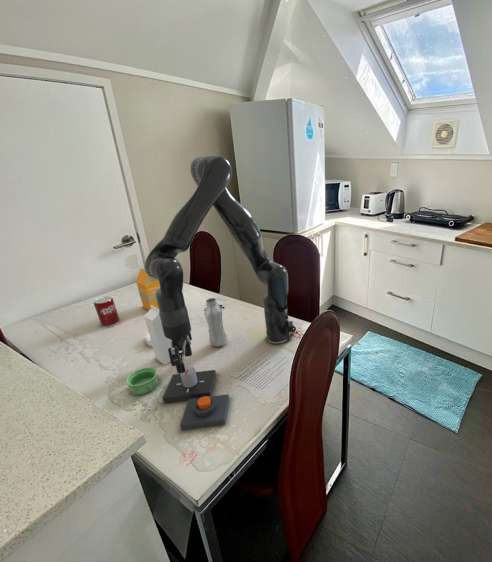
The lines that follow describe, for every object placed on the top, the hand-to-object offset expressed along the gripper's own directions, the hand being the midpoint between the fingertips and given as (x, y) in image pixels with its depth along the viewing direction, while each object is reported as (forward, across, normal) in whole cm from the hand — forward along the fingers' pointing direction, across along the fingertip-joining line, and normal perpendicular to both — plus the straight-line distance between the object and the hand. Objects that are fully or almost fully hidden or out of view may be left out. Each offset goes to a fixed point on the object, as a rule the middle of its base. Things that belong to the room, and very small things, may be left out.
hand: (185, 363), depth 99 cm
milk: (+11, +19, +13) cm, 25 cm away
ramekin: (+11, +4, +16) cm, 19 cm away
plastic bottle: (+10, +25, -5) cm, 28 cm away
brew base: (+10, 0, 0) cm, 10 cm away
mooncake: (+11, +33, +19) cm, 39 cm away
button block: (+10, -12, -7) cm, 17 cm away
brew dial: (+8, 0, 0) cm, 8 cm away
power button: (+7, -12, -7) cm, 15 cm away
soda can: (+11, +51, +47) cm, 70 cm away
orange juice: (+10, +64, +32) cm, 72 cm away
